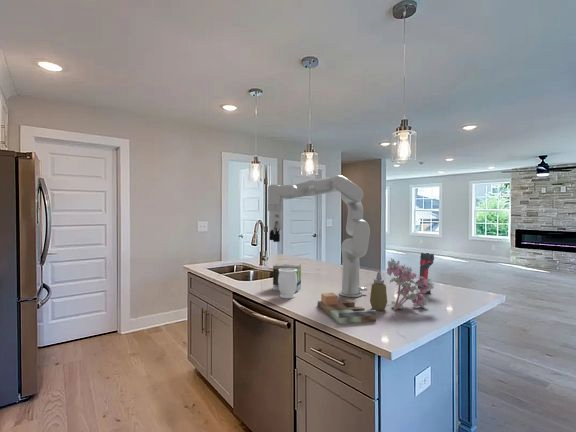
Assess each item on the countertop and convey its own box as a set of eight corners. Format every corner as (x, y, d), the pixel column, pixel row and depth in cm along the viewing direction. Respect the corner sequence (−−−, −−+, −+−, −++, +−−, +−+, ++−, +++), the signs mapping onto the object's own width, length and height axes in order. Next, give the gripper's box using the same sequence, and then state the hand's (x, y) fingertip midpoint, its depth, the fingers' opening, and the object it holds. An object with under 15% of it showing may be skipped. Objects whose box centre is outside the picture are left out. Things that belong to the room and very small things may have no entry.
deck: (349, 303, 164) (349, 295, 164) (376, 321, 139) (376, 310, 139) (317, 306, 159) (317, 297, 159) (339, 324, 134) (339, 313, 134)
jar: (295, 299, 170) (295, 271, 170) (275, 298, 172) (276, 270, 172) (298, 294, 180) (298, 268, 180) (280, 293, 182) (280, 267, 182)
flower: (430, 317, 140) (438, 262, 149) (377, 304, 150) (388, 254, 159) (430, 323, 157) (437, 274, 165) (382, 312, 167) (391, 266, 175)
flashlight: (436, 294, 187) (437, 254, 186) (423, 294, 185) (424, 254, 185) (428, 290, 194) (429, 252, 194) (416, 291, 193) (417, 252, 193)
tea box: (301, 288, 196) (301, 264, 195) (297, 292, 186) (297, 266, 186) (277, 286, 199) (277, 262, 199) (272, 290, 190) (272, 265, 189)
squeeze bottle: (374, 305, 162) (374, 269, 161) (389, 308, 156) (390, 271, 156) (366, 309, 155) (367, 271, 155) (382, 312, 150) (383, 274, 150)
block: (332, 300, 160) (332, 292, 160) (337, 304, 155) (337, 295, 155) (321, 301, 159) (321, 293, 159) (325, 304, 153) (325, 296, 153)
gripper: (285, 208, 163) (285, 242, 163) (278, 208, 179) (277, 239, 180) (271, 208, 161) (270, 242, 161) (264, 208, 177) (264, 239, 178)
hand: (274, 240), depth 170 cm, fingers open, 9 cm apart
